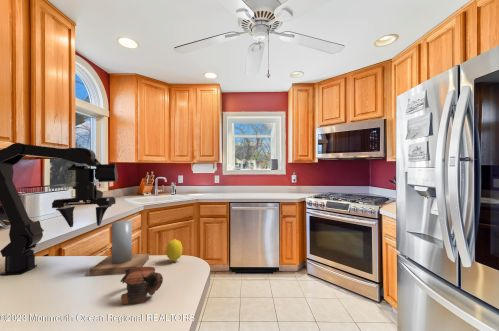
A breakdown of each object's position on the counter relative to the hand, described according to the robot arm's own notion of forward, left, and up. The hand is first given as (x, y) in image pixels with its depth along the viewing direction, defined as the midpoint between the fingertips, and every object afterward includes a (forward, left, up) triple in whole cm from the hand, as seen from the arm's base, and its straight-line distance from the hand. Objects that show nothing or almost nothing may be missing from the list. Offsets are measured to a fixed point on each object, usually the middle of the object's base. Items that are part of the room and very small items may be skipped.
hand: (85, 226), depth 84 cm
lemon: (+32, -4, -13) cm, 35 cm away
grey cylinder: (+15, -6, -11) cm, 19 cm away
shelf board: (+15, -6, -13) cm, 21 cm away
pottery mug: (+28, -27, -13) cm, 41 cm away
